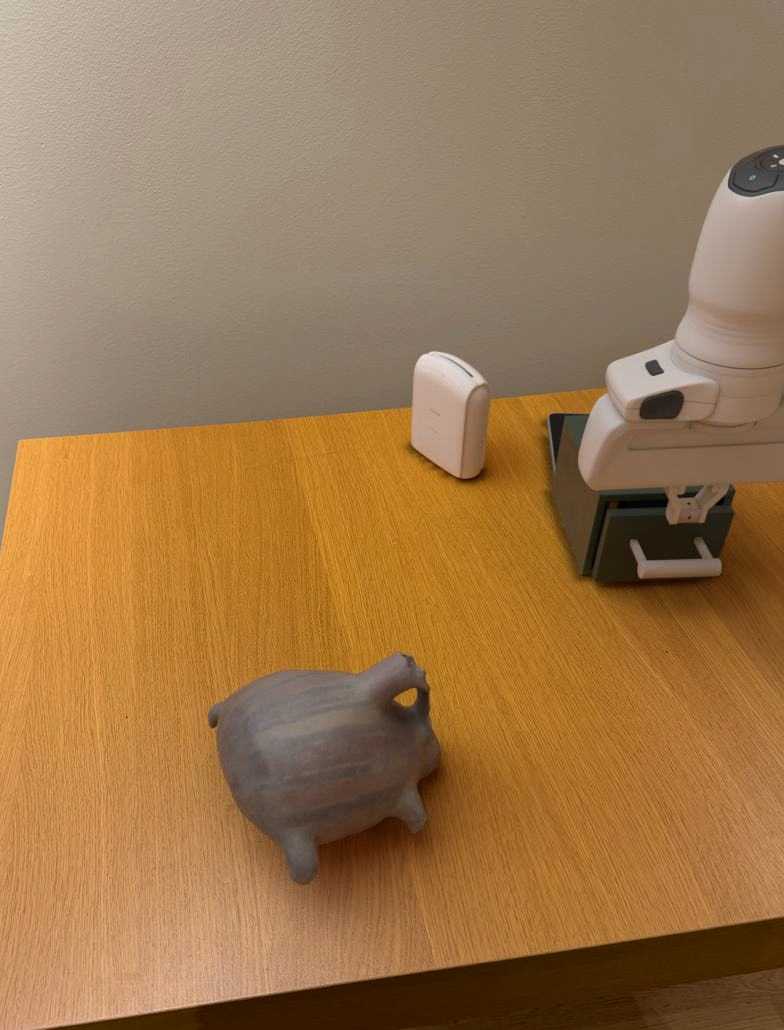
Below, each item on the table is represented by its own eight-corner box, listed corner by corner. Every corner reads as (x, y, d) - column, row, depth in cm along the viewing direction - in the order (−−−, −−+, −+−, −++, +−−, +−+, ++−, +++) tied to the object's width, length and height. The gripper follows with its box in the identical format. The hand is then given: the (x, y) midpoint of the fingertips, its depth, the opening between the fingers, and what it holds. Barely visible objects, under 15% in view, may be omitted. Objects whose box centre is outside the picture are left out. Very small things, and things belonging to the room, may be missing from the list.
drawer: (730, 612, 85) (755, 545, 80) (607, 616, 86) (624, 549, 80) (669, 499, 99) (688, 435, 94) (563, 502, 99) (576, 439, 94)
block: (656, 524, 94) (666, 486, 91) (669, 552, 91) (680, 513, 87) (610, 525, 94) (620, 487, 91) (622, 553, 91) (632, 514, 88)
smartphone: (555, 481, 102) (546, 412, 113) (554, 488, 103) (545, 418, 113) (624, 484, 101) (609, 414, 112) (622, 491, 102) (607, 420, 113)
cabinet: (708, 571, 91) (736, 490, 85) (581, 575, 91) (599, 495, 85) (664, 489, 102) (686, 411, 95) (550, 493, 102) (564, 415, 96)
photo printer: (404, 445, 110) (409, 348, 102) (433, 434, 112) (440, 338, 103) (459, 485, 104) (468, 384, 95) (488, 473, 105) (500, 373, 97)
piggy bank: (409, 678, 80) (462, 631, 67) (441, 867, 76) (505, 856, 62) (203, 698, 76) (216, 653, 63) (225, 897, 72) (244, 893, 59)
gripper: (840, 352, 75) (787, 494, 84) (588, 365, 75) (563, 505, 85) (876, 390, 70) (816, 535, 80) (607, 403, 71) (579, 546, 80)
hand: (684, 520), depth 82 cm, fingers closed
